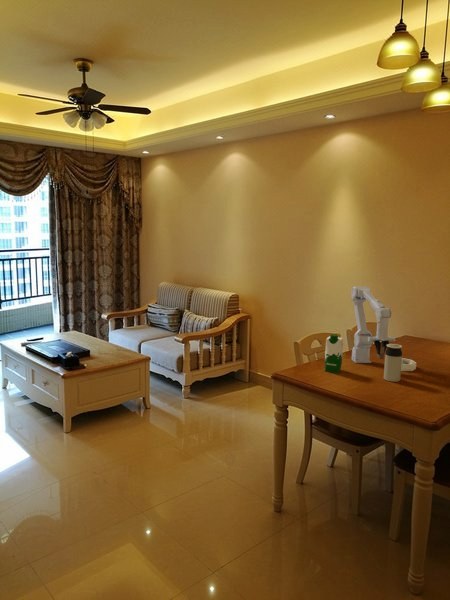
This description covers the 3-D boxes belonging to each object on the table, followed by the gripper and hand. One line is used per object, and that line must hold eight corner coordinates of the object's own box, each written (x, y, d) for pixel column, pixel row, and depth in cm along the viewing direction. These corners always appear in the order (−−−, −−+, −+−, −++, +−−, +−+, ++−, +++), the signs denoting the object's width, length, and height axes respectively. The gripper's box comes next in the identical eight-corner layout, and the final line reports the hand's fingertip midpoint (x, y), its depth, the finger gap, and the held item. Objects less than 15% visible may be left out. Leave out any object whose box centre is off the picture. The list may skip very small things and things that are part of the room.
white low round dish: (419, 370, 255) (419, 364, 255) (394, 370, 254) (395, 364, 254) (407, 363, 269) (408, 357, 269) (384, 363, 268) (384, 357, 268)
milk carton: (323, 371, 251) (324, 335, 248) (326, 367, 259) (328, 332, 256) (339, 373, 247) (341, 337, 244) (342, 369, 255) (344, 333, 252)
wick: (383, 359, 253) (384, 346, 252) (379, 359, 253) (380, 346, 252) (380, 357, 257) (381, 344, 256) (377, 357, 257) (378, 344, 256)
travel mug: (403, 381, 236) (405, 347, 233) (388, 382, 235) (391, 347, 232) (394, 377, 244) (397, 343, 241) (380, 377, 242) (383, 343, 240)
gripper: (371, 331, 248) (370, 356, 250) (398, 331, 249) (396, 356, 251) (367, 328, 255) (365, 352, 257) (392, 328, 256) (391, 352, 258)
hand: (380, 354), depth 255 cm, fingers closed on wick, 2 cm apart
